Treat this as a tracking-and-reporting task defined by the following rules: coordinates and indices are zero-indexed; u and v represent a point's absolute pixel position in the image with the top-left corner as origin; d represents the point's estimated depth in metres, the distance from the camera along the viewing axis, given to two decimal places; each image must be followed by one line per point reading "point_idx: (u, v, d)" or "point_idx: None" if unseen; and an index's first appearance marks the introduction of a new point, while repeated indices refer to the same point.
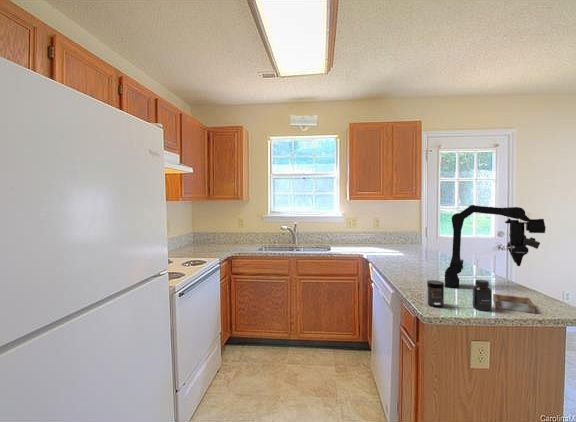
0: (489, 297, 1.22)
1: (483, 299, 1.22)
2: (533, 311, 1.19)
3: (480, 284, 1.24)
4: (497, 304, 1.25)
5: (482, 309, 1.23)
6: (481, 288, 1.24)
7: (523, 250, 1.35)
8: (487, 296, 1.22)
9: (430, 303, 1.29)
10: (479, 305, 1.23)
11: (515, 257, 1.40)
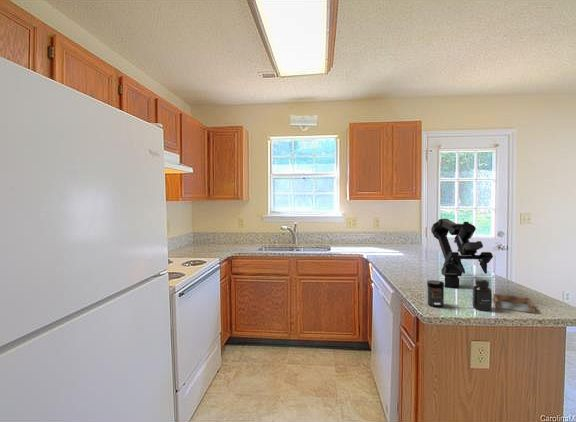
0: (489, 297, 1.22)
1: (483, 299, 1.22)
2: (533, 311, 1.19)
3: (480, 284, 1.24)
4: (497, 304, 1.25)
5: (482, 309, 1.23)
6: (481, 288, 1.24)
7: (448, 256, 1.39)
8: (487, 296, 1.22)
9: (430, 303, 1.29)
10: (479, 305, 1.23)
11: (457, 266, 1.38)
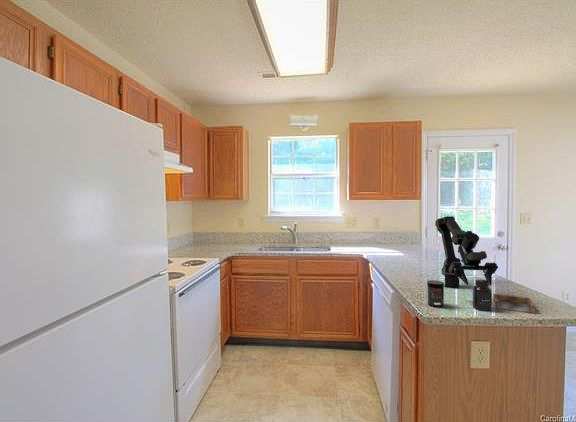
0: (489, 297, 1.22)
1: (483, 299, 1.22)
2: (533, 311, 1.19)
3: (480, 284, 1.24)
4: (497, 304, 1.25)
5: (482, 309, 1.23)
6: (481, 288, 1.24)
7: (451, 266, 1.34)
8: (487, 296, 1.22)
9: (430, 303, 1.29)
10: (479, 305, 1.23)
11: (460, 277, 1.33)
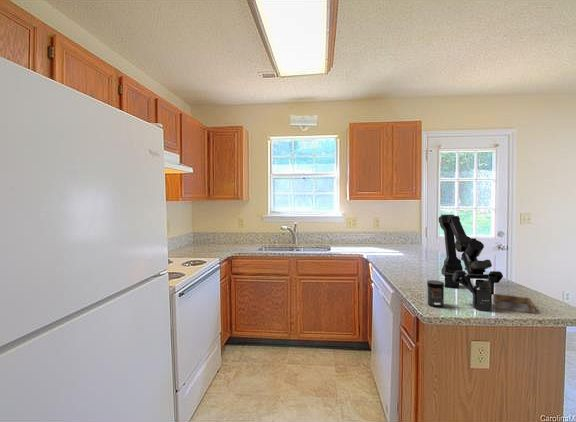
0: (489, 297, 1.22)
1: (483, 299, 1.22)
2: (533, 311, 1.19)
3: (480, 284, 1.24)
4: (497, 304, 1.25)
5: (482, 309, 1.23)
6: (481, 288, 1.24)
7: (455, 275, 1.30)
8: (487, 296, 1.22)
9: (430, 303, 1.29)
10: (479, 305, 1.23)
11: (466, 286, 1.29)
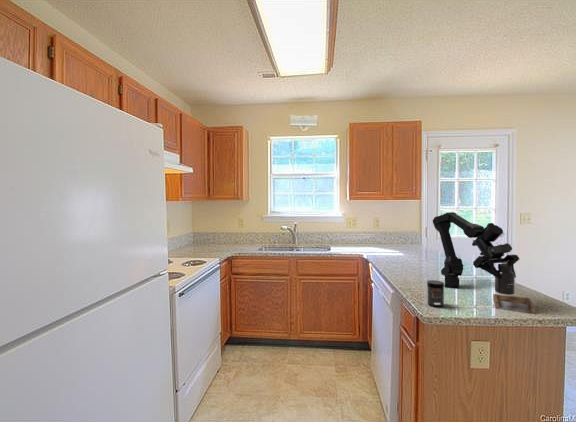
0: (514, 280, 1.23)
1: (509, 283, 1.22)
2: (533, 311, 1.19)
3: (505, 268, 1.24)
4: (497, 304, 1.25)
5: (508, 293, 1.23)
6: (506, 272, 1.23)
7: (478, 261, 1.28)
8: (512, 279, 1.23)
9: (430, 303, 1.29)
10: (505, 289, 1.23)
11: (489, 271, 1.28)
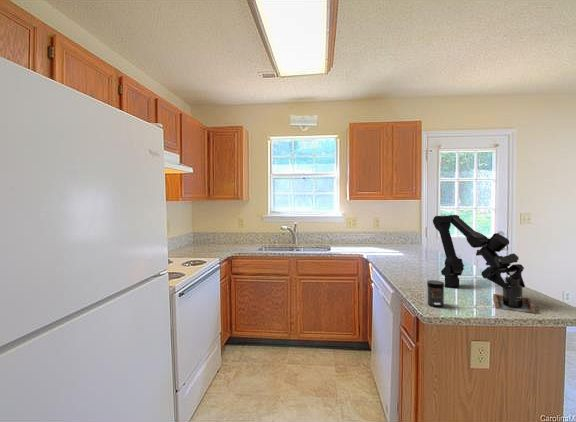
0: (521, 293, 1.25)
1: (518, 296, 1.24)
2: (533, 311, 1.19)
3: (513, 281, 1.25)
4: (497, 304, 1.25)
5: (517, 306, 1.24)
6: (515, 285, 1.25)
7: (488, 271, 1.28)
8: (521, 292, 1.24)
9: (430, 303, 1.29)
10: (514, 302, 1.24)
11: (496, 282, 1.28)
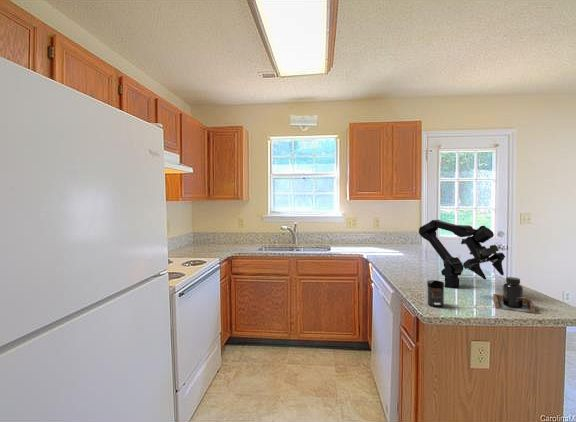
0: (522, 294, 1.25)
1: (519, 296, 1.24)
2: (533, 311, 1.19)
3: (514, 282, 1.25)
4: (497, 304, 1.25)
5: (517, 306, 1.24)
6: (515, 285, 1.25)
7: (468, 263, 1.39)
8: (521, 293, 1.24)
9: (430, 303, 1.29)
10: (514, 302, 1.24)
11: (476, 272, 1.40)
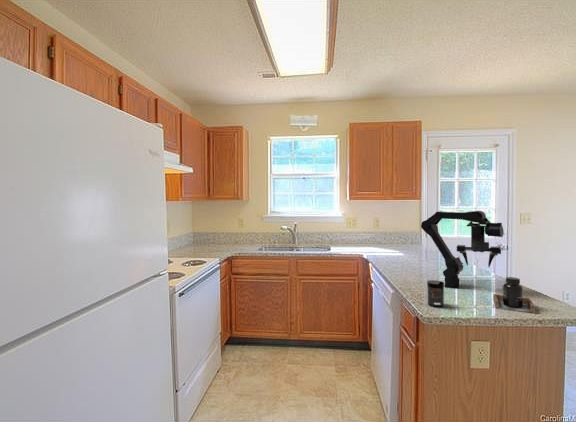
0: (522, 294, 1.25)
1: (518, 296, 1.24)
2: (533, 311, 1.19)
3: (514, 282, 1.25)
4: (497, 304, 1.25)
5: (517, 306, 1.24)
6: (515, 285, 1.25)
7: None
8: (521, 293, 1.24)
9: (430, 303, 1.29)
10: (514, 302, 1.24)
11: None
